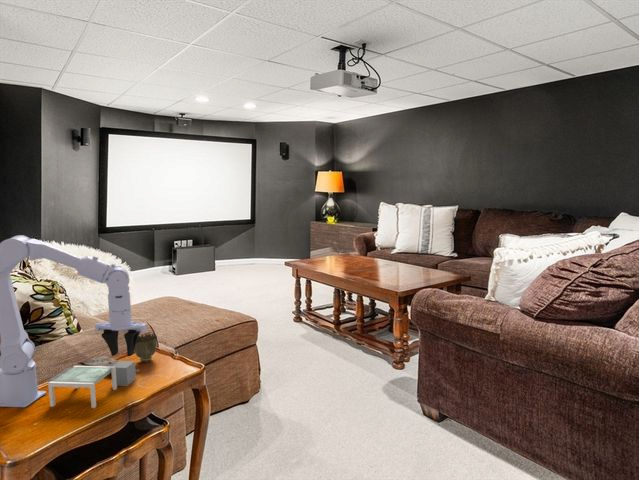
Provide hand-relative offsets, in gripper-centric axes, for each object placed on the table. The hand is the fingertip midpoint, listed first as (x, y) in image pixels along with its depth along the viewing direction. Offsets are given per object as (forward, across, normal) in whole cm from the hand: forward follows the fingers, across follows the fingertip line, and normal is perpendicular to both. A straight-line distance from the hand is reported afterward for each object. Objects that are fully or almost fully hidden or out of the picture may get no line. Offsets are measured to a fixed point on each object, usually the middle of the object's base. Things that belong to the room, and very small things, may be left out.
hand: (122, 354), depth 123 cm
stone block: (+8, 0, 0) cm, 8 cm away
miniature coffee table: (+8, +6, +10) cm, 14 cm away
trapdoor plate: (+3, +7, +10) cm, 12 cm away
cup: (+8, +1, -15) cm, 17 cm away
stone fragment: (+9, +12, -10) cm, 18 cm away
